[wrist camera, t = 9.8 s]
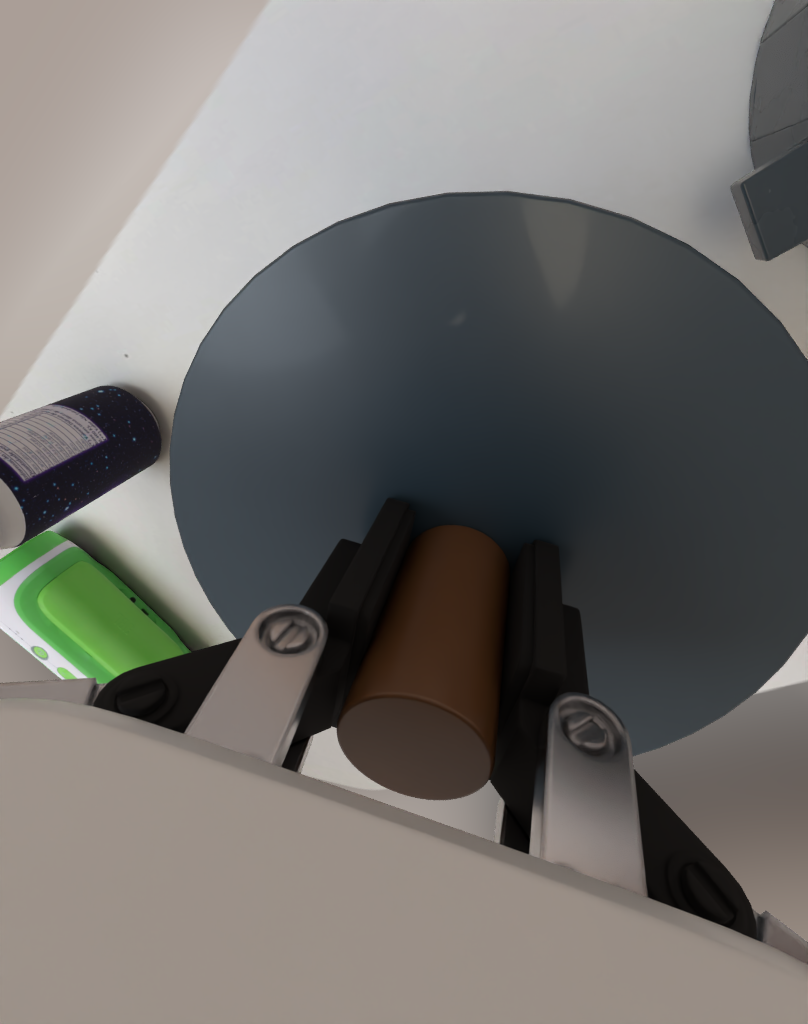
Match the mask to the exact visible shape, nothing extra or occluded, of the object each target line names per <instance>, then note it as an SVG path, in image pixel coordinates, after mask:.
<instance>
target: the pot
mask: <svg viewBox="0 0 808 1024" xmlns="http://www.w3.org/2000/svg"><path fill="white" fill-rule="evenodd" d="M749 135H750V146H751V156H752V160H753V164H754V168H755V170H754V171H752V172H751V173H749V174H748V175H746V176H744V177H743V178H741V179H740V180H738V181H736V182H735V183H733V184H732V185H731V192H732V194H733V197H734V200H735V203H736V206H737V209H738V211H739V214H740V217H741V220H742V223H743V226H744V228H745V231H746V234H747V237H748V240H749V243H750V245H751V248H752V251H753V254H754V257H755V259H757V260H763V261H770V260H772V259H773V258H775V257H777V256H779V255H781V254H783V253H784V252H786V251H788V250H790V249H792V248H794V247H795V246H797V245H799V244H801V243H802V244H804V245H805V246H806V247H808V0H775V2H774V5H773V7H772V10H771V13H770V16H769V18H768V21H767V24H766V26H765V29H764V33H763V36H762V40H761V44H760V48H759V52H758V55H757V59H756V63H755V68H754V74H753V81H752V87H751V94H750V109H749Z"/></svg>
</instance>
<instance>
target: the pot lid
mask: <svg viewBox="0 0 808 1024" xmlns="http://www.w3.org/2000/svg"><path fill="white" fill-rule="evenodd" d="M170 486H171V493H172V500H173V506H174V513H175V518H176V522H177V525H178V529H179V532H180V536H181V539H182V543H183V547H184V549H185V552H186V554H187V557H188V559H189V561H190V564H191V566H192V569H193V571H194V573H195V576H196V578H197V580H198V581H199V583H200V585H201V587H202V589H203V591H204V592H205V594H206V596H207V598H208V600H209V602H210V603H211V605H212V606H213V608H214V609H215V611H216V612H217V614H218V615H219V616H220V618H221V619H222V621H223V622H224V624H225V625H226V627H227V628H228V629H229V631H230V632H231V633H232V634H233V635H234V636H235V638H236V639H240V638H243V637H244V635H245V633H246V632H247V630H248V629H249V627H250V625H251V624H252V622H253V621H254V620H255V618H256V617H257V616H258V615H259V614H260V613H261V612H263V611H265V610H266V609H268V608H270V607H273V606H276V605H280V604H299V603H300V602H301V600H302V599H303V597H304V596H305V594H306V592H307V591H308V589H309V588H310V586H311V585H312V583H313V581H314V580H315V578H316V577H317V575H318V574H319V572H320V570H321V569H322V567H323V566H324V564H325V563H326V561H327V559H328V558H329V556H330V555H331V553H332V552H333V550H334V548H335V547H336V545H337V544H338V542H339V541H340V540H341V539H346V540H350V541H353V542H356V543H360V544H362V542H363V540H364V539H365V537H366V535H367V533H368V531H369V530H370V528H371V526H372V524H373V522H374V521H375V519H376V517H377V515H378V514H379V512H380V510H381V508H382V506H383V505H384V503H385V501H386V499H387V498H388V497H389V498H392V499H396V500H399V501H403V502H406V503H409V510H413V511H416V515H415V520H414V524H413V528H412V533H411V537H410V541H409V545H408V549H407V552H406V554H405V557H404V559H403V562H402V564H401V567H400V569H399V571H398V574H397V576H396V579H395V581H394V584H393V586H392V589H391V591H390V594H389V596H388V598H387V601H386V603H385V606H384V608H383V611H382V613H381V616H380V618H379V621H378V623H377V625H376V628H375V630H374V633H373V635H372V638H371V640H370V643H369V645H368V648H367V650H366V652H365V655H364V657H363V660H362V662H361V665H360V666H359V669H358V671H357V674H356V676H355V678H354V681H353V683H352V686H351V688H350V691H349V693H348V696H347V698H346V700H345V703H344V705H343V708H342V710H341V713H340V715H339V718H338V721H337V737H338V741H339V744H340V747H341V749H342V751H343V753H344V754H345V756H346V757H347V758H348V760H349V761H350V762H351V763H352V764H353V765H354V766H355V767H356V768H357V769H358V770H359V771H360V772H361V773H363V774H364V775H365V776H367V777H368V778H370V779H371V780H372V781H374V782H376V783H378V784H379V785H381V786H383V787H385V788H388V789H390V790H392V791H395V792H397V793H400V794H404V795H407V796H411V797H415V798H420V799H427V800H451V799H457V798H461V797H465V796H468V795H470V794H473V793H474V792H476V791H478V790H479V789H480V788H482V787H483V786H484V785H485V784H486V783H487V781H488V780H489V779H490V777H491V775H492V773H493V770H494V766H495V756H496V743H497V731H498V718H499V706H500V694H501V681H502V669H503V657H504V644H505V632H506V619H507V607H508V595H509V582H510V577H511V574H512V572H513V569H514V567H515V564H516V562H517V559H518V557H519V554H520V551H521V549H522V546H523V544H524V543H528V544H532V543H533V541H534V540H535V539H536V540H540V541H543V542H547V543H550V544H554V545H557V546H559V556H560V572H561V587H562V603H563V604H565V605H569V606H572V607H575V608H578V609H579V610H580V615H581V623H582V632H583V642H584V651H585V660H586V669H587V678H588V688H589V695H590V696H592V697H594V698H596V699H598V700H600V701H601V702H603V703H604V704H605V705H607V706H608V707H609V708H611V709H612V710H613V711H614V712H615V713H616V714H617V716H618V717H619V718H620V719H621V720H622V722H623V724H624V725H625V727H626V729H627V730H628V733H629V737H630V741H631V747H632V756H636V755H639V754H642V753H645V752H649V751H652V750H655V749H658V748H661V747H663V746H666V745H668V744H670V743H673V742H675V741H677V740H679V739H682V738H684V737H687V736H689V735H691V734H693V733H695V732H697V731H699V730H700V729H702V728H704V727H706V726H707V725H709V724H711V723H713V722H714V721H716V720H718V719H720V718H721V717H723V716H725V715H726V714H728V713H729V712H730V711H731V710H733V709H734V708H736V707H737V706H738V705H740V704H741V703H742V702H744V701H745V700H746V699H748V698H749V697H750V696H752V695H753V694H754V693H756V692H757V691H758V690H759V689H760V688H761V687H762V686H763V685H764V684H765V683H766V682H767V681H768V680H769V679H770V678H771V677H772V676H773V675H774V674H775V673H776V672H777V671H778V670H779V669H780V668H781V667H782V666H783V665H784V664H785V663H786V662H787V660H788V659H789V658H790V656H791V655H792V654H793V652H794V651H795V650H796V648H797V647H798V646H799V645H800V643H801V642H802V641H803V639H804V638H805V637H806V635H807V634H808V360H807V359H806V358H805V356H804V355H803V353H802V352H801V350H800V349H799V347H798V346H797V345H796V343H795V342H794V340H793V339H792V337H791V336H790V334H789V333H788V332H787V330H786V329H785V327H784V326H783V324H782V323H781V322H780V321H779V320H778V319H777V318H776V317H775V316H774V315H773V314H772V313H771V312H770V311H769V310H768V309H767V308H766V307H765V306H764V305H763V304H762V303H761V302H760V301H759V300H758V299H757V298H756V297H755V296H754V295H753V294H752V293H751V292H750V291H749V290H748V289H747V288H746V287H745V286H744V285H743V284H742V283H741V282H740V281H739V280H738V279H737V278H735V277H734V276H733V275H731V274H730V273H728V272H727V271H725V270H724V269H723V268H721V267H720V266H718V265H717V264H715V263H714V262H713V261H711V260H710V259H708V258H707V257H706V256H704V255H703V254H701V253H700V252H698V251H697V250H696V249H694V248H693V247H691V246H690V245H688V244H686V243H684V242H682V241H680V240H678V239H676V238H674V237H672V236H670V235H668V234H665V233H663V232H661V231H659V230H657V229H655V228H653V227H651V226H649V225H647V224H645V223H643V222H640V221H638V220H636V219H634V218H632V217H629V216H626V215H622V214H619V213H616V212H612V211H609V210H605V209H602V208H599V207H595V206H592V205H588V204H585V203H582V202H578V201H575V200H571V199H565V198H557V197H549V196H542V195H534V194H526V193H519V192H511V191H494V192H456V193H443V194H438V195H432V196H427V197H421V198H416V199H410V200H405V201H399V202H394V203H389V204H386V205H384V206H381V207H378V208H375V209H372V210H369V211H367V212H364V213H361V214H358V215H355V216H352V217H349V218H347V219H344V220H341V221H338V222H336V223H334V224H333V225H331V226H329V227H327V228H325V229H323V230H321V231H320V232H318V233H316V234H314V235H312V236H310V237H309V238H307V239H305V240H303V241H301V242H299V243H297V244H296V245H294V246H292V247H291V248H290V249H288V250H287V251H286V252H284V253H283V254H282V255H281V256H279V257H278V258H277V259H275V260H274V261H273V262H271V263H270V264H269V265H268V266H266V267H265V268H264V269H262V270H261V271H260V272H259V273H257V274H256V275H255V276H254V277H253V278H252V279H251V280H250V281H249V282H248V283H247V284H246V285H245V286H244V287H243V289H242V290H241V291H240V292H239V293H238V294H237V295H236V296H235V297H234V298H233V299H232V300H231V301H230V302H229V304H228V305H227V306H226V307H225V308H224V309H223V311H222V312H221V314H220V315H219V317H218V318H217V320H216V321H215V323H214V324H213V326H212V327H211V329H210V330H209V332H208V333H207V335H206V336H205V338H204V339H203V341H202V342H201V344H200V346H199V348H198V350H197V353H196V355H195V357H194V359H193V361H192V363H191V366H190V368H189V370H188V372H187V374H186V376H185V379H184V382H183V385H182V389H181V392H180V396H179V399H178V403H177V406H176V410H175V413H174V420H173V427H172V435H171V443H170Z"/></svg>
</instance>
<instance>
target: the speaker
mask: <svg viewBox="0 0 808 1024" xmlns="http://www.w3.org/2000/svg"><path fill="white" fill-rule="evenodd" d="M0 628H1V629H2V630H3V631H4V632H5V633H6V634H8V635H9V636H10V637H11V638H12V639H14V640H15V641H16V642H17V643H18V644H19V645H21V646H22V647H23V648H24V649H26V650H27V651H28V652H29V653H30V654H31V655H33V656H34V657H35V658H36V659H37V660H39V661H40V662H41V663H42V664H43V665H45V666H46V667H47V668H48V669H49V670H51V671H52V672H53V673H54V674H55V675H57V676H58V677H59V678H60V679H61V680H63V679H80V678H96V680H97V684H101V683H108V682H109V681H111V680H112V679H114V678H115V677H117V676H119V675H120V674H122V673H124V672H126V671H129V670H131V669H134V668H137V667H140V666H144V665H147V664H151V663H155V662H158V661H162V660H165V659H169V658H172V657H176V656H179V655H183V654H187V653H190V652H191V651H190V650H189V649H188V648H187V647H186V646H185V645H184V644H183V643H182V642H181V640H180V639H179V638H178V636H177V635H176V633H175V632H174V631H173V630H172V629H171V628H170V627H169V626H168V625H167V624H166V623H165V622H164V621H163V620H162V619H161V618H160V617H159V616H158V615H157V614H156V613H155V612H154V611H152V610H151V609H150V608H149V607H148V606H147V605H146V604H145V603H144V602H143V601H142V600H141V599H140V598H139V597H138V596H137V595H136V594H135V593H134V592H132V591H131V590H130V589H129V588H128V587H127V586H126V585H125V584H124V583H123V582H122V581H121V580H120V579H119V578H118V577H117V576H115V575H114V574H113V573H112V572H111V571H110V570H108V569H107V568H106V567H104V566H103V565H101V564H99V563H98V562H96V561H95V560H94V559H93V558H92V557H91V556H89V555H88V554H87V553H86V552H85V551H84V550H82V549H81V548H80V547H78V546H77V545H75V544H74V543H73V542H71V541H69V540H67V539H66V538H64V537H62V536H60V535H58V534H57V533H55V532H53V531H46V532H44V533H42V534H40V535H38V536H36V537H34V538H32V539H31V540H29V541H27V542H26V543H24V544H22V545H21V546H19V547H18V548H16V549H15V550H13V551H12V552H10V553H9V554H8V555H6V556H5V557H3V558H2V559H0Z"/></svg>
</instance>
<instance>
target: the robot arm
mask: <svg viewBox="0 0 808 1024" xmlns="http://www.w3.org/2000/svg"><path fill="white" fill-rule="evenodd" d="M415 515H416V511H413V510H409V503H406V502H403V501H399V500H396V499H392V498H389V497H388V498H387V499H386V501H385V503H384V505H383V506H382V508H381V510H380V512H379V514H378V515H377V517H376V519H375V521H374V522H373V524H372V526H371V528H370V530H369V531H368V533H367V535H366V537H365V539H364V540H363V542H362V544H360V543H356V542H353V541H350V540H346V539H341V540H340V541H339V542H338V544H337V545H336V547H335V548H334V550H333V552H332V553H331V555H330V556H329V558H328V559H327V561H326V563H325V564H324V566H323V567H322V569H321V570H320V572H319V574H318V575H317V577H316V578H315V580H314V581H313V583H312V585H311V586H310V588H309V589H308V591H307V592H306V594H305V596H304V597H303V599H302V600H301V602H300V603H299V604H280V605H276V606H273V607H270V608H268V609H266V610H265V611H263V612H261V613H260V614H259V615H258V616H257V617H256V618H255V620H254V621H253V622H252V624H251V625H250V627H249V629H248V630H247V632H246V633H245V635H244V637H243V638H240V639H236V640H233V641H229V642H226V643H222V644H218V645H215V646H211V647H208V648H204V649H201V650H197V651H194V652H190V653H187V654H183V655H179V656H176V657H172V658H169V659H165V660H162V661H158V662H155V663H151V664H147V665H144V666H140V667H137V668H134V669H131V670H129V671H126V672H124V673H122V674H120V675H119V676H117V677H115V678H114V679H112V680H111V681H109V682H108V683H101V684H97V680H96V678H80V679H63V680H46V681H28V682H10V683H0V1024H808V942H807V941H805V940H804V939H803V938H801V937H800V936H799V935H797V934H796V933H795V932H794V931H792V930H791V929H790V928H788V927H787V926H786V925H784V924H783V923H782V922H780V921H779V920H778V919H777V918H775V917H774V916H773V915H771V914H770V913H769V912H767V911H765V912H763V913H762V914H761V915H760V914H758V913H757V912H756V911H754V910H753V909H752V907H751V904H750V902H749V900H748V899H747V897H746V895H745V893H744V891H743V889H742V888H741V886H740V885H739V883H738V882H737V881H736V880H735V878H734V877H733V876H732V875H731V873H730V872H729V871H728V870H727V869H726V867H725V866H724V865H723V864H722V863H721V862H720V861H719V860H718V859H717V858H716V857H715V856H714V855H713V853H712V852H711V851H710V850H709V849H708V848H707V847H706V846H705V845H704V844H703V843H702V842H701V841H700V839H699V838H698V837H697V836H696V835H695V834H694V833H693V832H692V831H691V830H690V829H689V828H688V827H687V825H686V824H685V823H684V822H683V821H682V820H681V819H680V818H679V817H678V816H677V815H676V814H675V813H674V811H673V810H672V809H671V808H670V807H669V806H668V805H667V804H666V803H665V802H664V801H663V800H662V799H661V798H660V796H658V794H657V793H656V792H655V791H654V790H653V789H652V788H651V787H650V786H649V785H648V783H647V782H646V781H645V780H644V779H643V778H642V777H641V776H640V775H639V774H638V773H637V772H636V771H635V770H634V765H633V756H632V747H631V741H630V737H629V733H628V730H627V729H626V727H625V725H624V724H623V722H622V720H621V719H620V718H619V717H618V716H617V714H616V713H615V712H614V711H613V710H612V709H611V708H609V707H608V706H607V705H605V704H604V703H603V702H601V701H600V700H598V699H596V698H594V697H592V696H590V695H589V688H588V678H587V669H586V660H585V651H584V642H583V632H582V623H581V615H580V610H579V609H578V608H575V607H572V606H569V605H565V604H563V603H562V587H561V572H560V556H559V546H557V545H554V544H550V543H547V542H543V541H540V540H536V539H535V540H534V541H533V543H532V544H528V543H524V544H523V546H522V549H521V551H520V554H519V557H518V559H517V562H516V564H515V567H514V569H513V572H512V574H511V577H510V582H509V595H508V607H507V619H506V632H505V644H504V657H503V669H502V681H501V694H500V706H499V718H498V731H497V743H496V756H495V766H494V770H493V773H492V775H491V777H490V779H489V780H491V783H492V785H493V786H494V787H495V789H496V790H497V792H498V793H499V795H500V796H501V797H500V801H499V804H498V810H497V817H496V825H495V832H494V839H493V842H492V841H489V840H486V839H484V838H481V837H478V836H476V835H472V834H470V833H467V832H464V831H461V830H458V829H456V828H453V827H450V826H447V825H444V824H442V823H439V822H436V821H433V820H430V819H428V818H425V817H422V816H419V815H416V814H413V813H410V812H408V811H405V810H402V809H399V808H396V807H393V806H391V805H388V804H385V803H382V802H379V801H376V800H374V799H371V798H368V797H365V796H362V795H359V794H356V793H353V792H351V791H348V790H345V789H342V788H340V787H337V786H334V785H331V784H328V783H325V782H322V781H320V780H316V779H314V778H311V777H308V776H305V775H302V774H301V771H302V768H303V765H304V762H305V760H306V757H307V754H308V751H309V749H310V746H311V743H312V740H313V735H314V734H317V733H319V732H322V731H324V730H326V729H329V728H331V726H332V727H335V728H337V721H338V718H339V715H340V713H341V710H342V708H343V705H344V703H345V700H346V698H347V696H348V693H349V691H350V688H351V686H352V683H353V681H354V678H355V676H356V674H357V671H358V669H359V666H360V665H361V662H362V660H363V657H364V655H365V652H366V650H367V648H368V645H369V643H370V640H371V638H372V635H373V633H374V630H375V628H376V625H377V623H378V621H379V618H380V616H381V613H382V611H383V608H384V606H385V603H386V601H387V598H388V596H389V594H390V591H391V589H392V586H393V584H394V581H395V579H396V576H397V574H398V571H399V569H400V567H401V564H402V562H403V559H404V557H405V554H406V552H407V549H408V545H409V541H410V537H411V533H412V528H413V524H414V520H415Z"/></svg>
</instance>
